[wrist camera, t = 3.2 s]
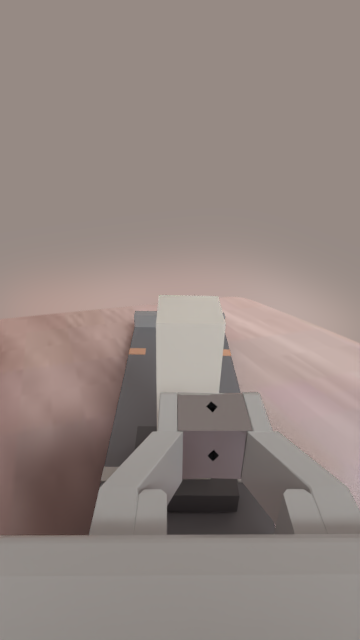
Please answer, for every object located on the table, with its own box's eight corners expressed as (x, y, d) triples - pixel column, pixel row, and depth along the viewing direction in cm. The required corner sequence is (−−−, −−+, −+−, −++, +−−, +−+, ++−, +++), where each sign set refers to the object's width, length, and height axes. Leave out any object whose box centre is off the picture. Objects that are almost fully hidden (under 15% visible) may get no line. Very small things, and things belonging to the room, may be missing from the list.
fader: (236, 511, 19) (265, 337, 14) (129, 511, 19) (117, 334, 14) (225, 442, 24) (243, 289, 18) (138, 441, 23) (131, 287, 18)
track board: (283, 606, 17) (295, 568, 15) (82, 607, 17) (74, 568, 15) (221, 339, 40) (223, 312, 38) (136, 337, 40) (135, 311, 38)
